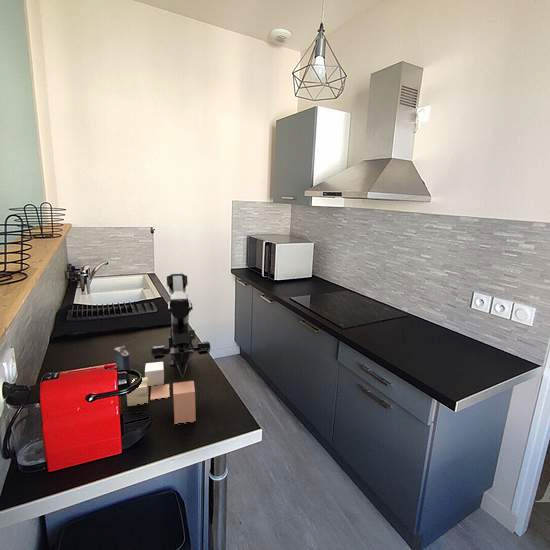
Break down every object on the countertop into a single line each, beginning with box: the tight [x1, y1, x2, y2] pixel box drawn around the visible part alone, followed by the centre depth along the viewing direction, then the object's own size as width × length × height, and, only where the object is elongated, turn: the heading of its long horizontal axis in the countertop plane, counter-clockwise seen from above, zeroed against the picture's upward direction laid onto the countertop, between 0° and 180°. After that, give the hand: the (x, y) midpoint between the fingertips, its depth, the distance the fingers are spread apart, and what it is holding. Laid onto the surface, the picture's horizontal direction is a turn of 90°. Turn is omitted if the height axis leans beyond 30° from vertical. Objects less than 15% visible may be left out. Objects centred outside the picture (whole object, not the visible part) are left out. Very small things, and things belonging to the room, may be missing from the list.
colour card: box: [150, 383, 171, 401], centre depth 112 cm, size 8×6×1 cm
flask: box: [113, 345, 131, 371], centre depth 122 cm, size 9×3×11 cm, turn 48°
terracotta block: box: [172, 380, 197, 425], centre depth 99 cm, size 6×6×10 cm
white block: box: [144, 361, 165, 386], centre depth 118 cm, size 6×6×6 cm
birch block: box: [126, 376, 150, 407], centre depth 107 cm, size 6×6×6 cm
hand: (182, 376), depth 107 cm, fingers closed
